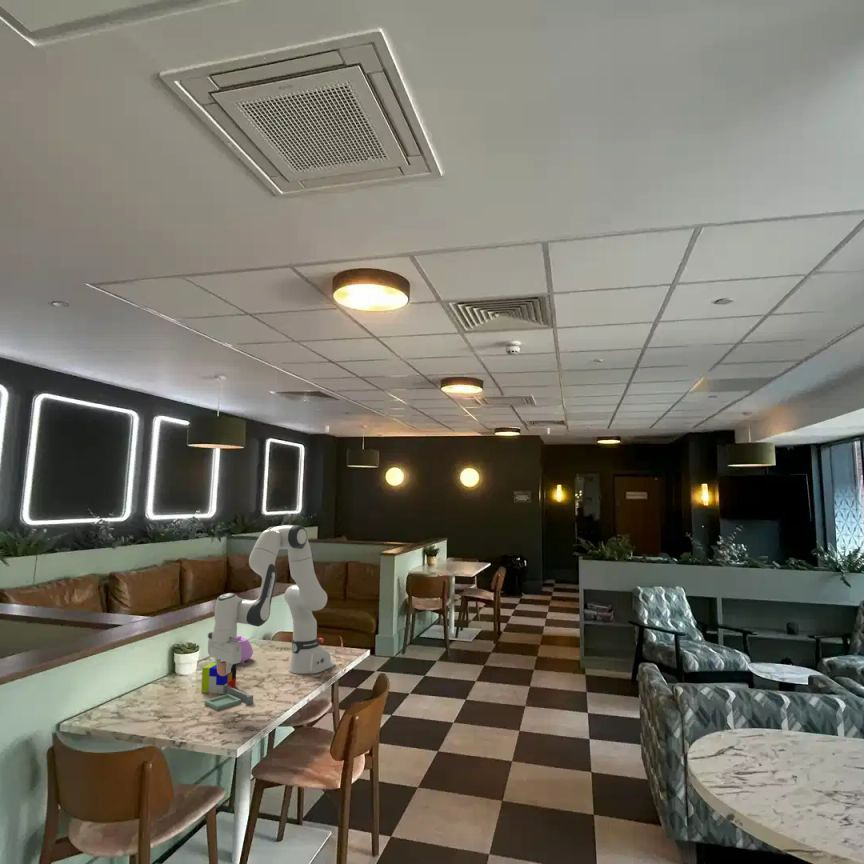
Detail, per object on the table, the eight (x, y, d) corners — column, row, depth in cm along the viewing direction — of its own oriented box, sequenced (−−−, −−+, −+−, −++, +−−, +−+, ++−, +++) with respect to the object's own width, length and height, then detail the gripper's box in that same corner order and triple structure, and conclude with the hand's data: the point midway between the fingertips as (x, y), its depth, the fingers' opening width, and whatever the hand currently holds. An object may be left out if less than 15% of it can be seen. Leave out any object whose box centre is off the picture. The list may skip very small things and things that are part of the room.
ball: (225, 673, 228) (226, 660, 228) (232, 675, 225) (232, 662, 225) (214, 675, 224) (214, 662, 225) (220, 678, 221) (221, 665, 221)
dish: (228, 697, 230) (228, 693, 231) (241, 703, 224) (241, 699, 224) (204, 704, 223) (204, 700, 223) (217, 710, 216) (217, 706, 217)
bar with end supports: (228, 692, 236) (228, 685, 237) (253, 703, 224) (253, 695, 224) (223, 694, 235) (223, 686, 235) (247, 704, 222) (247, 697, 223)
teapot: (246, 667, 271) (247, 641, 272) (216, 668, 270) (217, 642, 271) (256, 655, 291) (257, 631, 292) (228, 656, 289) (229, 632, 291)
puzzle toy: (222, 693, 235) (223, 668, 236) (201, 692, 237) (202, 667, 238) (235, 685, 245) (236, 662, 246) (215, 684, 247) (216, 660, 248)
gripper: (246, 638, 222) (244, 674, 220) (219, 630, 235) (218, 664, 234) (231, 641, 217) (229, 678, 215) (205, 633, 230) (203, 668, 229)
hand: (223, 671), depth 225 cm, fingers closed on ball, 5 cm apart
